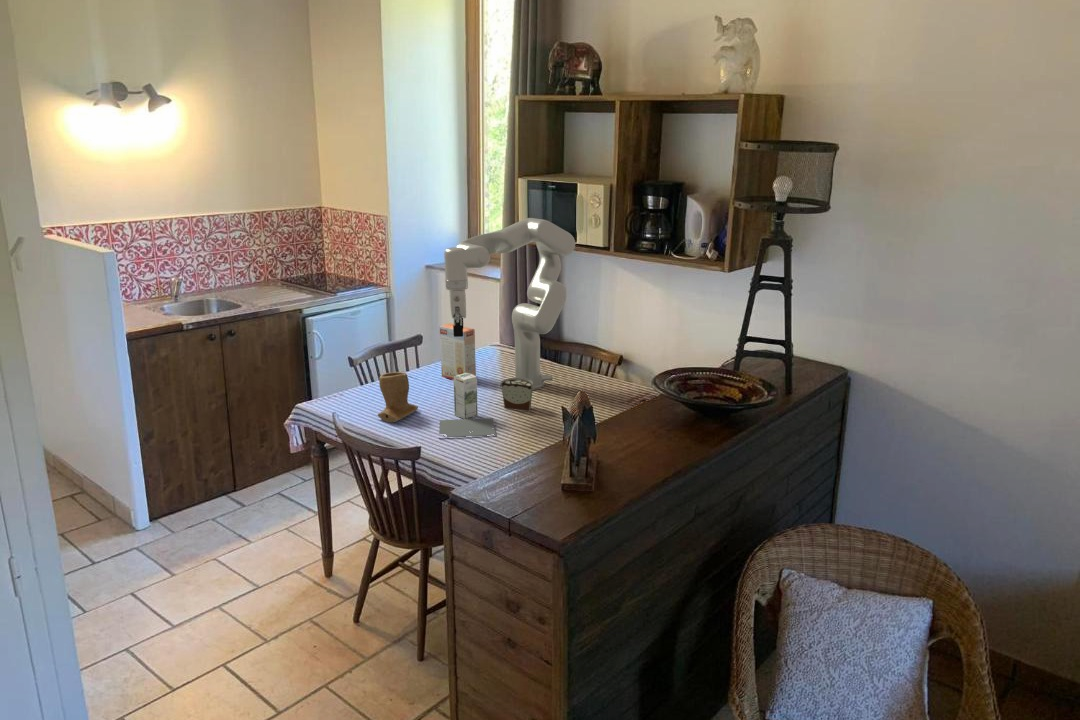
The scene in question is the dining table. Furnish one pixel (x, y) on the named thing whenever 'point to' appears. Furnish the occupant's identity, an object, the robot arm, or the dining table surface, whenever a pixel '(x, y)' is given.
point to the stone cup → (395, 396)
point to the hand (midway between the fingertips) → (458, 332)
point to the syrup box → (465, 395)
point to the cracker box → (457, 352)
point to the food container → (517, 393)
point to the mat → (467, 427)
